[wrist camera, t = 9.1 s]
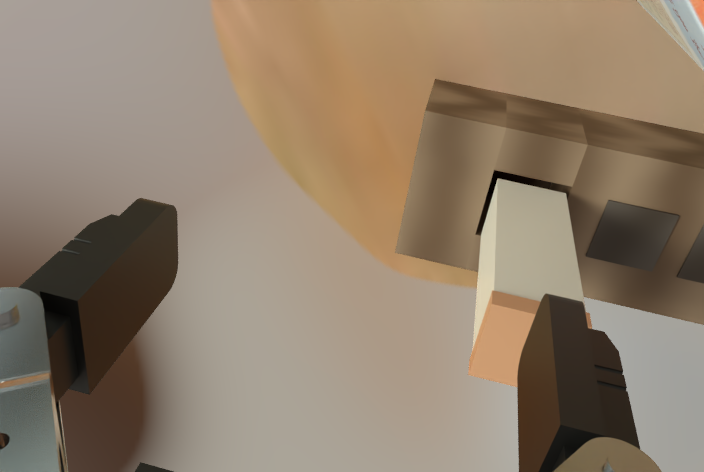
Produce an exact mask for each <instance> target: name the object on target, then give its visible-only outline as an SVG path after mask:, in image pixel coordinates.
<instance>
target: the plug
mask: <svg viewBox="0 0 704 472" xmlns="http://www.w3.org/2000/svg"><path fill="white" fill-rule="evenodd" d="M546 293H547V294H552V295H556V296H560V297H564V298H569V299H573V300H577V301H582V302H583V303H584V297H583V291H582V285H581V279H580V274H579V268H578V262H577V256H576V250H575V244H574V238H573V232H572V226H571V220H570V214H569V208H568V202H567V196H566V193H563V192H558V191H553V190H549V189H544V188H540V187H535V186H530V185H526V184H521V183H517V182H512V181H507V180H503V179H497V183H496V186H495V189H494V193H493V196H492V199H491V203H490V206H489V210H488V213H487V216H486V220H485V223H484V226H483V230H482V233H481V241H480V255H479V269H478V283H477V297H476V312H475V325H474V339H473V341H474V342H473V351H472V354H471V357H470V360H469V375H471V376H475V377H479V378H483V379H487V380H491V381H495V382H499V383H503V384H507V385H511V386H515V387H517V375H518V366H519V361H520V356H521V353H522V349H523V347H524V344H525V341H526V339H527V336H528V333H529V331H530V328H531V326H532V323H533V320H534V318H535V315H536V312H537V310H538V307H539V305H540V302H541V300H542V298H543V296H544V295H545V294H546ZM584 307H585V304H584ZM585 312H586V309H585ZM586 318H587V324H588V328H590V329H592V325H591V319H590V314H589V313H587V312H586Z"/></svg>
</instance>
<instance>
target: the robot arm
mask: <svg viewBox="0 0 704 472" xmlns="http://www.w3.org/2000/svg"><path fill="white" fill-rule="evenodd" d="M177 234H178V233H177V211H176V208H175V207H174V206H173V205H169V204H164V203H160V202H156V201H151V200H147V199H143V198H139V199H137V200H136V201H135V202H134V203H133V204H132V205H131V206H129V207H128V208H127V209H126V210H125V211H124V212H123V213H122V214H121V215H120V216H116V215H109V216H107V217H104V218H102V219H100V220H98V221H96V222H93V223H91V224H89V225H88V226H87V227H86V228H85V229H83V230H82V231H81V232H80V233H79V234H78V235H77V236H76V237H75V239H74V240H71V241H70V242H69V243H68V244H67V245H66V246H64V247H63V249H62V251H59V252H58V253H57V254H56V255H54V256H53V257H52V258H51V259H50V260H49V261H48V262H46V263H45V264H44V265H43V266H42V267H41V268H40V269H39V270H38V271H36V272H35V273H34V274H33V275H32V276H31V277H30V278H29V279H28V280H26V281H25V282H24V283H23V284H22V285H21V286H20V287H19V288H15V287H10V288H9V287H6V288H0V472H68V467H67V459H66V450H65V442H64V434H63V425H62V417H61V409H60V403H59V400H60V398H61V397H62V396H63V395H64V394H65V392H66V391H67V390H68V389H71V390H75V391H79V392H82V393H86V394H91V392H92V391H93V390H94V388H95V387H96V386H97V384H98V383H99V382H100V381H101V379H102V378H103V377H104V375H105V374H106V373H107V371H108V370H109V369H110V368H111V366H112V365H113V364H114V362H115V361H116V360H117V358H118V357H119V356H120V355H121V353H122V352H123V351H124V349H125V348H126V347H127V345H128V344H129V343H130V342H131V340H132V339H133V338H134V336H135V335H136V334H137V332H138V331H139V330H140V329H141V327H142V326H143V325H144V323H145V322H146V321H147V319H148V318H149V317H150V316H151V314H152V313H153V312H154V310H155V309H156V308H157V306H158V305H159V304H160V303H161V301H162V300H163V299H164V297H165V296H166V295H167V293H168V292H169V291H170V289H171V287H172V285H173V283H174V280H175V278H176V274H177V269H178V235H177ZM622 373H623V369H622V365H621V360H620V356H619V351H618V350H617V349H616V348H615V346H614V345H613V343H612V342H611V340H610V339H609V338H608V336H607V335H606V334H605V332H602V331H598V330H593V329H590V328H588V324H587V318H586V312H585V307H584V303H583V302H582V301H577V300H573V299H569V298H564V297H560V296H556V295H552V294H547V293H546V294H545V295H544V296H543V298H542V300H541V302H540V305H539V307H538V310H537V312H536V315H535V318H534V320H533V323H532V326H531V328H530V331H529V333H528V336H527V339H526V341H525V344H524V347H523V349H522V353H521V356H520V361H519V366H518V375H517V387H518V436H519V437H518V440H519V441H518V442H519V472H661V470H660V469H659V467H658V466H657V465H656V463H655V462H654V461H653V460H652V459H651V458H650V457H649V456H648V455H646V454H645V453H644V452H643V451H641V450H640V446H639V442H638V437H637V433H636V428H635V423H634V419H633V415H632V410H631V405H630V401H629V397H628V392H627V391H626V388H627V387H626V383H625V378H624V375H622ZM135 472H173V471H169V470H166V469H162V468H158V467H155V466H151V465H148V464H144V463H140V464H139V466H138V467H137V469H136V471H135Z"/></svg>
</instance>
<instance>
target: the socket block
mask: <svg viewBox="0 0 704 472" xmlns="http://www.w3.org/2000/svg"><path fill="white" fill-rule="evenodd" d="M494 170H497V171H501V172H506V173H511V174H515V175H520V176H525V177H529V178H534V179H538V180H543V181H548V182H552V184H551V187H550V190H553V191H558V192H563V193H566V196H567V202H568V208H569V214H570V220H571V226H572V232H573V238H574V244H575V250H576V256H577V262H578V268H579V274H580V279H581V285H582V291H583V297H587V298H591V299H596V300H600V301H605V302H609V303H613V304H617V305H621V306H626V307H630V308H634V309H639V310H643V311H647V312H652V313H655V314H660V315H664V316H668V317H673V318H677V319H681V320H685V321H690V322H694V323H698V324H703V325H704V134H701V133H696V132H692V131H687V130H682V129H677V128H672V127H667V126H662V125H657V124H652V123H647V122H642V121H638V120H633V119H628V118H623V117H618V116H613V115H608V114H603V113H598V112H593V111H588V110H584V109H579V108H574V107H569V106H564V105H559V104H554V103H549V102H544V101H539V100H535V99H530V98H525V97H520V96H515V95H510V94H505V93H500V92H495V91H490V90H485V89H481V88H476V87H471V86H466V85H461V84H456V83H451V82H446V81H441V80H436V79H435V82H434V85H433V88H432V91H431V94H430V97H429V100H428V104H427V107H426V110H425V114H424V119H423V124H422V128H421V133H420V138H419V142H418V147H417V152H416V157H415V161H414V166H413V171H412V175H411V180H410V185H409V190H408V194H407V199H406V204H405V208H404V213H403V218H402V223H401V227H400V232H399V237H398V241H397V246H396V251H395V253H399V254H403V255H407V256H412V257H416V258H420V259H425V260H429V261H433V262H437V263H442V264H446V265H450V266H454V267H459V268H463V269H467V270H472V271H476V272H478V269H479V255H480V241H481V233H482V230H483V226H484V223H485V220H486V216H487V213H488V210H489V206H490V203H491V199H492V196H493V195H491V194H487V193H488V189H489V186H490V182H491V179H492V175H493V172H494Z"/></svg>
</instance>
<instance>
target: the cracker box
mask: <svg viewBox="0 0 704 472" xmlns="http://www.w3.org/2000/svg"><path fill="white" fill-rule="evenodd" d="M636 1H637V2H638V3H639V4H640V5H641V6H642V7H643V8H644V9H645V10H646V11H647V12H648V13H649V14H650V15H651V16H652V17H653V18H654V19H655V20H656V21H657V22H658V24H659V25H660V26H661V27H662V28H663V29H664V30H665V31H666V32H667V33H668V34H669V35H670V36H671V37H672V38H673V39H674V40H675V41H676V42H677V43H678V44H679V45H680V47H681V48H682V49H683V50H684V51H685V52H686V53H687V54H688V55H689V56H690V57H691V58H692V59H693V60H694V61H695V62H696V63H697V65H698V66H699V67H700V68H701V69H702V70H703V71H704V0H636Z"/></svg>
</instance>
